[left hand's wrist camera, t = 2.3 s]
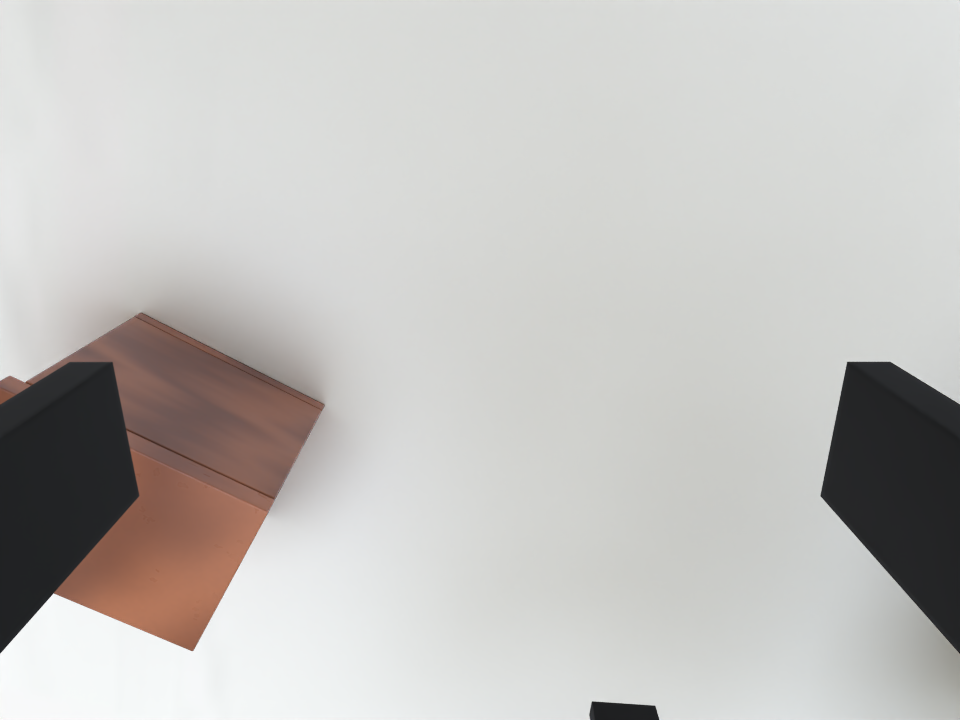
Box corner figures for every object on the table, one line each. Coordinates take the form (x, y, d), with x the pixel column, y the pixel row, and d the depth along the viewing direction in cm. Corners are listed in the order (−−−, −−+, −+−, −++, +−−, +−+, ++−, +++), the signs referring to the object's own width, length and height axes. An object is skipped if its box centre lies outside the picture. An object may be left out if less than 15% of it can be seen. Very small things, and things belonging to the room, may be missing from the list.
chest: (89, 435, 41) (-33, 536, 32) (140, 312, 39) (24, 381, 29) (264, 516, 43) (201, 635, 34) (324, 404, 41) (275, 498, 31)
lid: (-47, 531, 31) (-224, 673, 23) (9, 374, 29) (-170, 475, 21) (201, 635, 33) (114, 798, 26) (275, 499, 31) (204, 633, 23)
